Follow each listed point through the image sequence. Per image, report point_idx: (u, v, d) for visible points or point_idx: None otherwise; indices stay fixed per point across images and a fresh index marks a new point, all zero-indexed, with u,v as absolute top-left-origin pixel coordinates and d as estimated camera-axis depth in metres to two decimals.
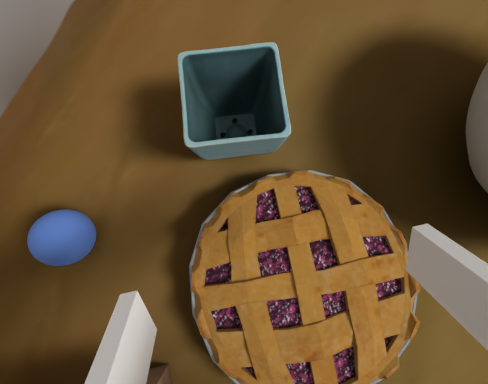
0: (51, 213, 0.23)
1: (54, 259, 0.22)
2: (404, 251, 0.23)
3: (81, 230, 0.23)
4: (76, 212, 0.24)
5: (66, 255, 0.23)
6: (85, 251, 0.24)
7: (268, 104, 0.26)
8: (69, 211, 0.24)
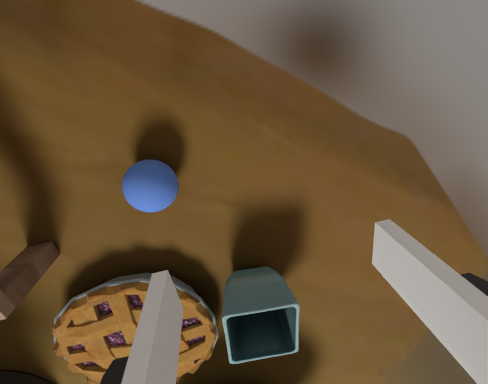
0: (170, 188, 0.25)
1: (127, 199, 0.24)
2: None
3: None
4: (175, 197, 0.26)
5: None
6: None
7: (265, 319, 0.35)
8: (175, 195, 0.26)
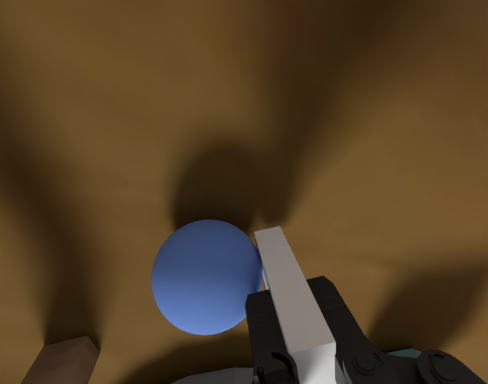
0: (195, 323, 0.10)
1: None
2: None
3: None
4: None
5: None
6: None
7: None
8: (217, 332, 0.11)
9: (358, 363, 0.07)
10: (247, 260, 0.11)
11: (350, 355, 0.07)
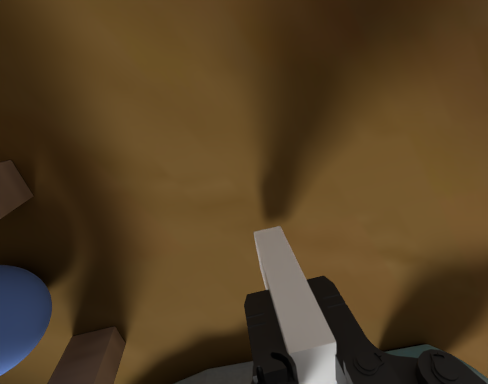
0: (21, 329, 0.12)
1: None
2: None
3: None
4: (44, 331, 0.13)
5: None
6: None
7: None
8: (40, 332, 0.13)
9: (359, 363, 0.07)
10: (23, 269, 0.14)
11: (351, 355, 0.07)
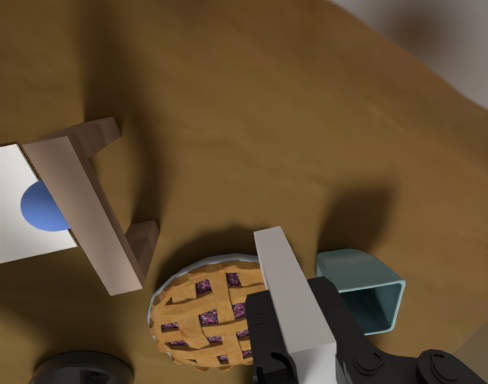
0: (32, 220, 0.23)
1: None
2: None
3: None
4: (54, 229, 0.24)
5: None
6: None
7: (350, 300, 0.35)
8: (47, 227, 0.24)
9: (359, 363, 0.07)
10: None
11: (351, 355, 0.07)
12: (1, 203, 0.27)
